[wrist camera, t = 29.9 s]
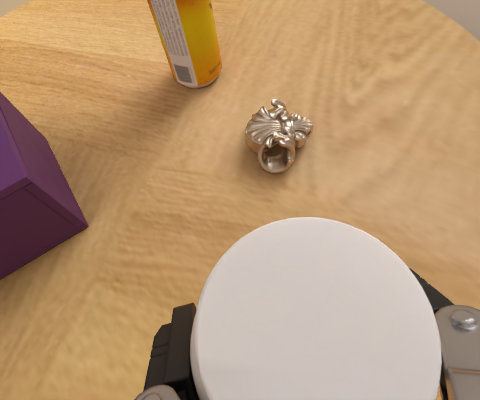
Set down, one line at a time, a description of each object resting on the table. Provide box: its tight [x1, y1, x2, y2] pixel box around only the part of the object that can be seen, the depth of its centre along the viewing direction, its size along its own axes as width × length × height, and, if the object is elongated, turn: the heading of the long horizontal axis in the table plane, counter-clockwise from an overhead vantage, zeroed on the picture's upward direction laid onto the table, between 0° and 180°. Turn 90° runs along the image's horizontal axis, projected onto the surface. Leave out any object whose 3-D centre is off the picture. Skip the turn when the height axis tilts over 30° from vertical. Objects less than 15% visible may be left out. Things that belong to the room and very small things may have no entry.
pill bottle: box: [190, 217, 442, 400], centre depth 11 cm, size 6×6×11 cm
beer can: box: [147, 0, 222, 88], centre depth 36 cm, size 6×6×15 cm
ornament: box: [245, 99, 313, 173], centre depth 35 cm, size 8×7×4 cm
